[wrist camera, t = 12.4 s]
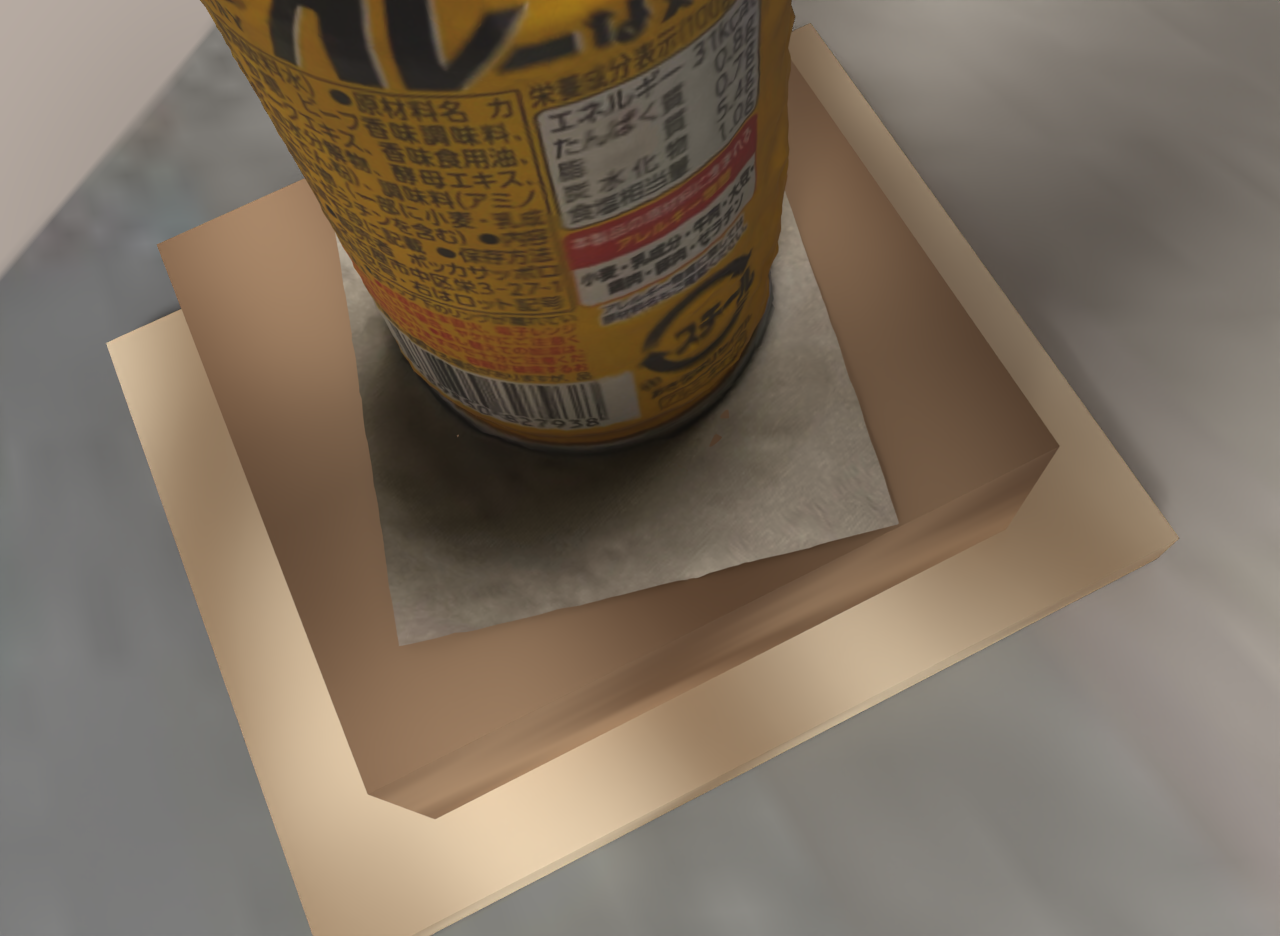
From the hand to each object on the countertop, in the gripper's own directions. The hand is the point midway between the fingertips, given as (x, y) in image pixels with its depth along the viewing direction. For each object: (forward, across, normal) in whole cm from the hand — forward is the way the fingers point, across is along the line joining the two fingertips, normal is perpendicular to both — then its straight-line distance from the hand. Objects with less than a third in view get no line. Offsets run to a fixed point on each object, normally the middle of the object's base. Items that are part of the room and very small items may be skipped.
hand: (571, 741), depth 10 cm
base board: (+13, 0, -3) cm, 13 cm away
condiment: (+10, +1, +1) cm, 10 cm away
